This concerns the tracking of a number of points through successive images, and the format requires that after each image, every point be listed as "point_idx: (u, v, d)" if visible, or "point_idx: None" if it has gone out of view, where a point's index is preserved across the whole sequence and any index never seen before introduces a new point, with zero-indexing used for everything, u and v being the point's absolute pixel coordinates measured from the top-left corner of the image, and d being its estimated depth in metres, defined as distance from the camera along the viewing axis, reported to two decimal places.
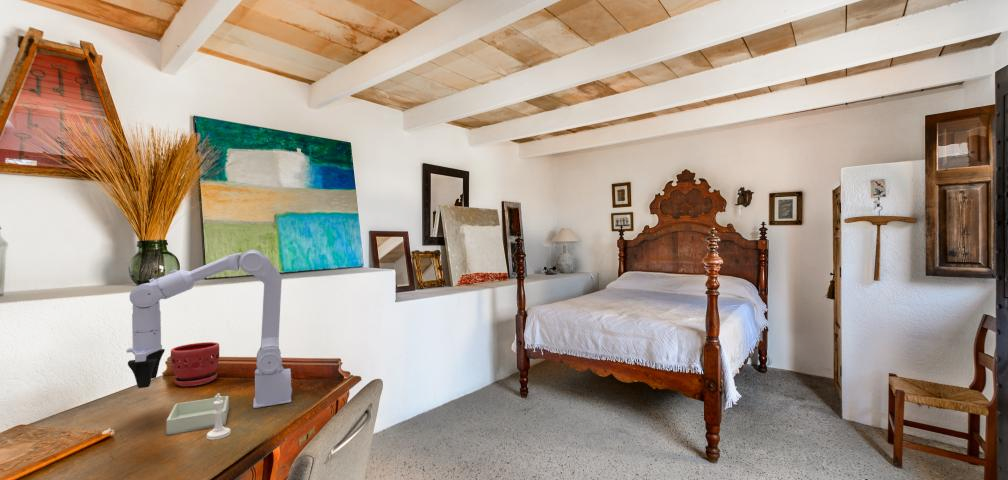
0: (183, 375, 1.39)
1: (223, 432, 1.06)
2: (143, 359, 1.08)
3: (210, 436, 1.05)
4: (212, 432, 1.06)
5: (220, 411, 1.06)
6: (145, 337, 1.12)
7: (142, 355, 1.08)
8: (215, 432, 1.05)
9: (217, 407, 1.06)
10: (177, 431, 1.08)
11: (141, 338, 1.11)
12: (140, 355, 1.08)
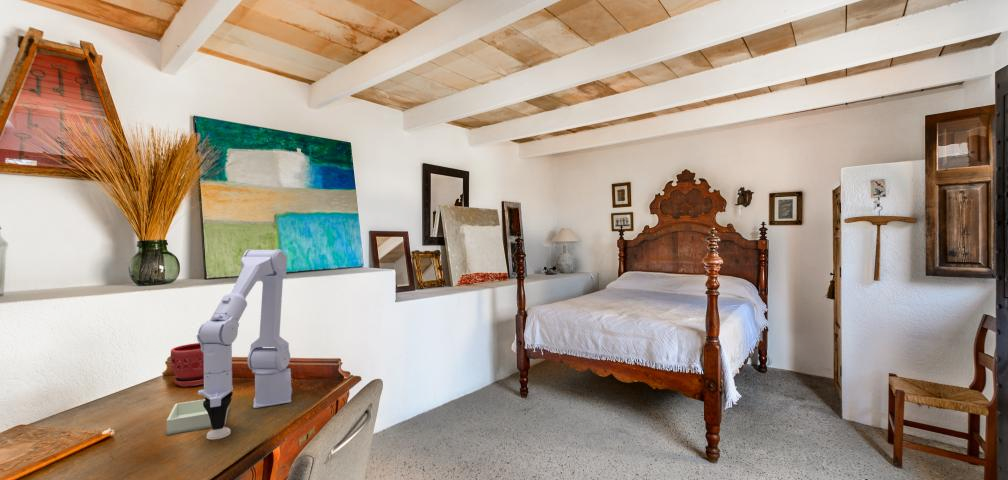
0: (183, 375, 1.39)
1: (223, 432, 1.06)
2: (218, 404, 1.01)
3: (210, 436, 1.05)
4: (212, 432, 1.06)
5: None
6: (217, 379, 1.04)
7: (217, 399, 1.00)
8: (215, 432, 1.05)
9: None
10: (177, 431, 1.08)
11: (213, 380, 1.04)
12: (215, 400, 1.00)
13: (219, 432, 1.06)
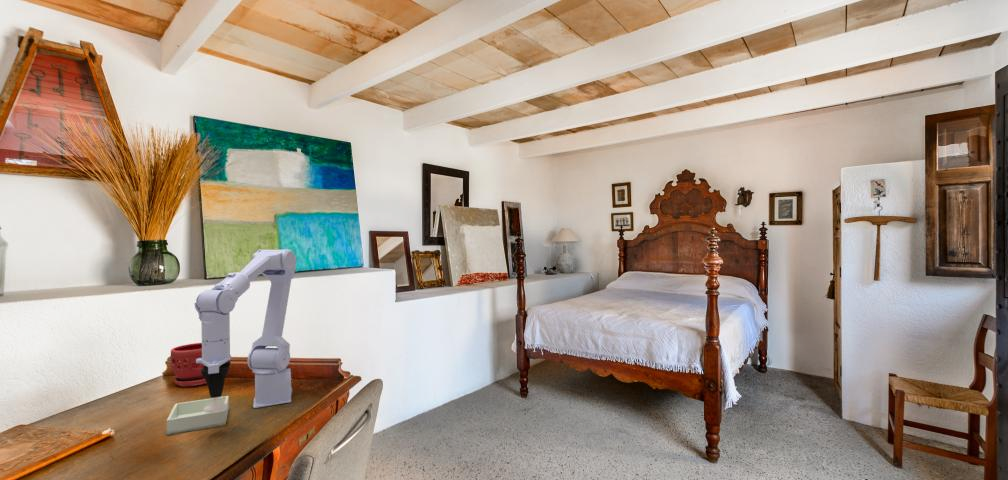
0: (183, 375, 1.39)
1: (220, 406, 1.07)
2: (216, 371, 1.01)
3: (207, 410, 1.05)
4: (209, 406, 1.06)
5: None
6: (215, 347, 1.05)
7: (215, 366, 1.01)
8: (212, 407, 1.06)
9: None
10: (177, 431, 1.08)
11: (211, 348, 1.05)
12: (213, 366, 1.01)
13: (216, 406, 1.06)
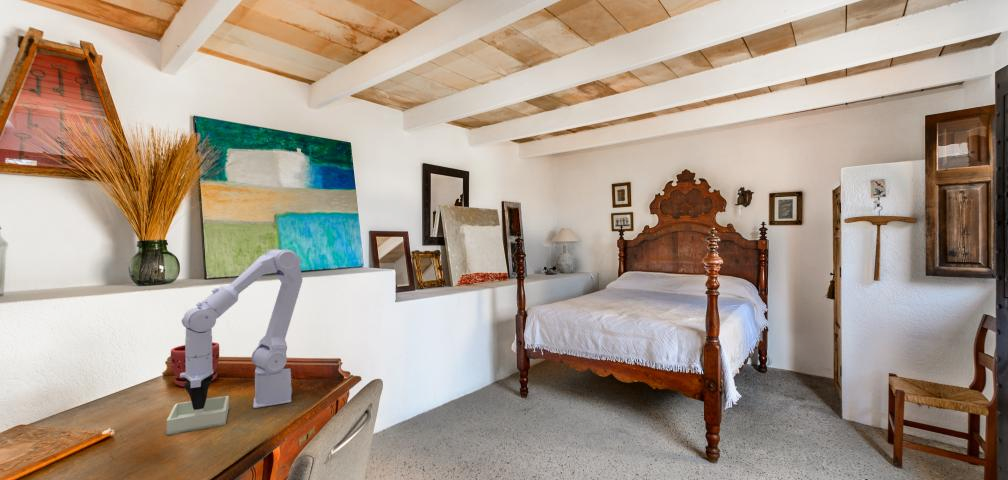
0: None
1: None
2: (198, 385, 1.08)
3: None
4: None
5: None
6: (198, 362, 1.12)
7: (197, 381, 1.08)
8: None
9: None
10: (177, 431, 1.08)
11: (194, 363, 1.12)
12: (195, 381, 1.08)
13: None
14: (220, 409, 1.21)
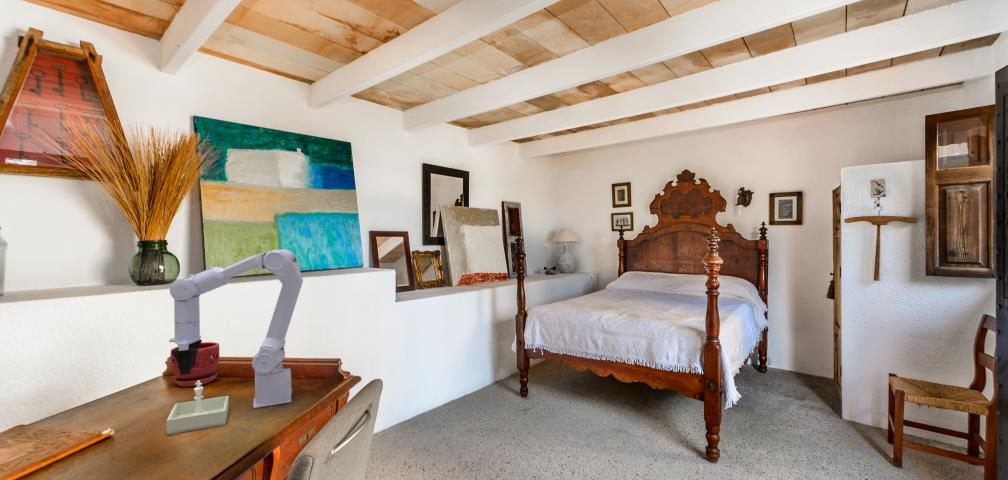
0: (183, 375, 1.39)
1: None
2: (186, 348, 1.17)
3: None
4: None
5: (200, 397, 1.14)
6: (186, 328, 1.21)
7: (185, 344, 1.17)
8: None
9: (197, 393, 1.14)
10: (177, 431, 1.08)
11: (182, 329, 1.21)
12: (183, 344, 1.17)
13: None
14: (220, 409, 1.21)
